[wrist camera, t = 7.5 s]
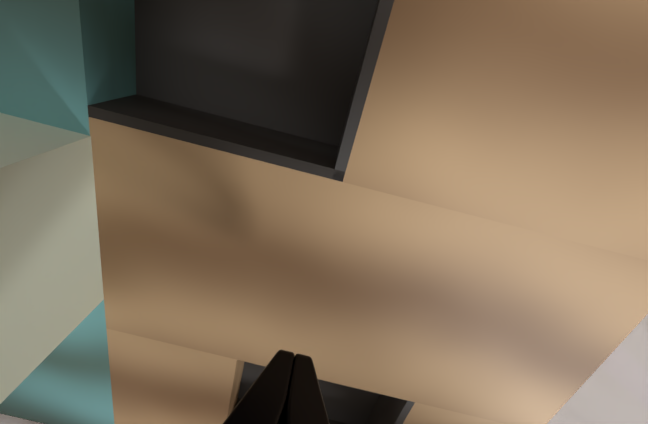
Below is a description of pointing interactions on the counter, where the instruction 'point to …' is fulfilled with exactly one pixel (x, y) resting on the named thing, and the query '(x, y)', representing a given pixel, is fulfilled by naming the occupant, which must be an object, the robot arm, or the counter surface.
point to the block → (44, 243)
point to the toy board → (344, 201)
